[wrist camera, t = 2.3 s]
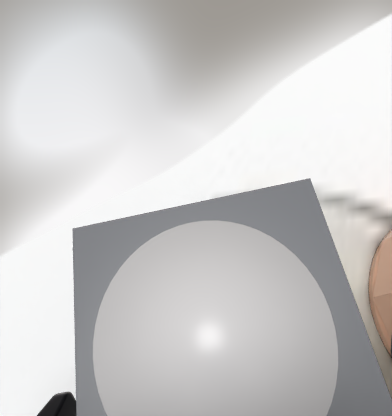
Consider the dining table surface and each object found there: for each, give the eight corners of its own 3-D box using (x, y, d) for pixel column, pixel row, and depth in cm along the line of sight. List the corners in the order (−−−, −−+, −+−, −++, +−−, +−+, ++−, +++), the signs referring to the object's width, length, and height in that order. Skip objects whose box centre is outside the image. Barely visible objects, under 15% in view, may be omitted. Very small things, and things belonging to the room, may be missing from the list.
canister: (278, 365, 16) (472, 532, 3) (195, 380, 16) (43, 601, 3) (257, 279, 17) (322, 155, 5) (182, 294, 18) (48, 214, 5)
